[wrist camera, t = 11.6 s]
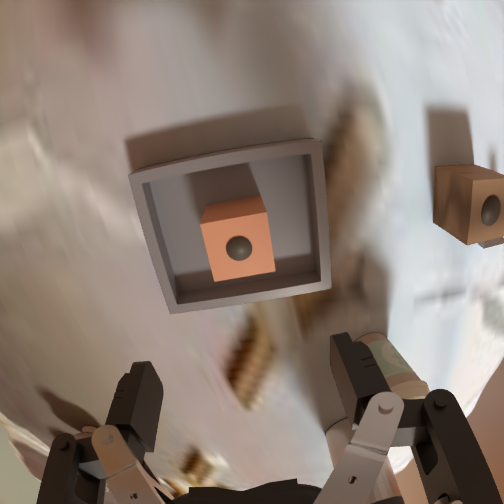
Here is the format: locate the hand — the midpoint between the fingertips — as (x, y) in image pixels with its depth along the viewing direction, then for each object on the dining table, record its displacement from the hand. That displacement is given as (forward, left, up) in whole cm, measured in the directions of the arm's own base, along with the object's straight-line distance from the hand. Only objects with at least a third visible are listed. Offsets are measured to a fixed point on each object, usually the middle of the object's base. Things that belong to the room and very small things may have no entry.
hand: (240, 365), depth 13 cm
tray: (0, 0, -18) cm, 18 cm away
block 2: (0, -25, -18) cm, 31 cm away
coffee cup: (-20, -14, -18) cm, 30 cm away
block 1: (0, 0, -17) cm, 17 cm away
